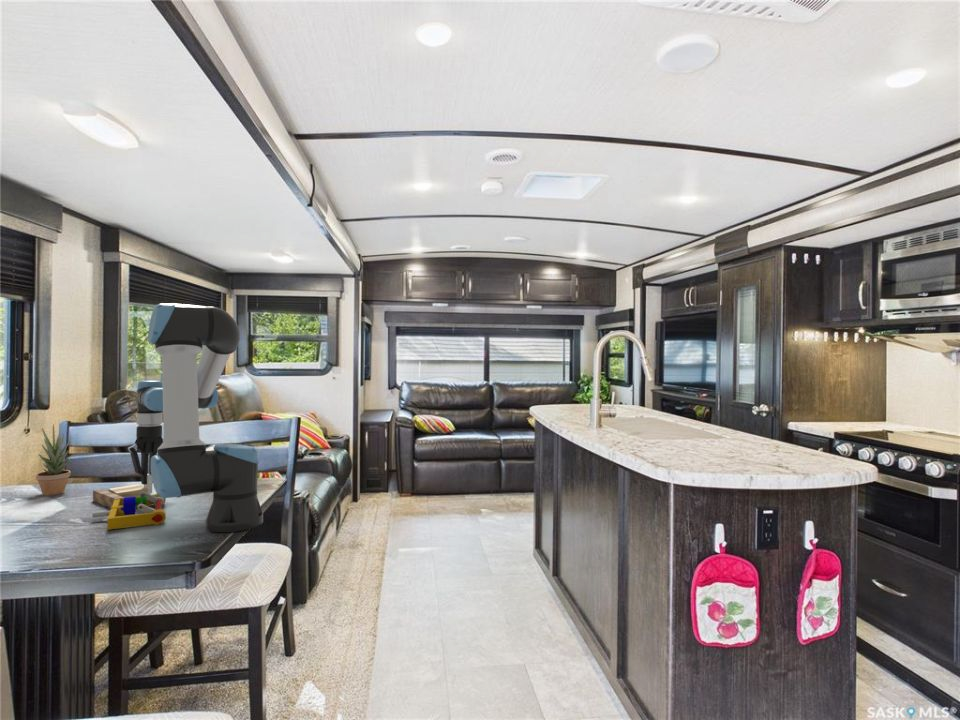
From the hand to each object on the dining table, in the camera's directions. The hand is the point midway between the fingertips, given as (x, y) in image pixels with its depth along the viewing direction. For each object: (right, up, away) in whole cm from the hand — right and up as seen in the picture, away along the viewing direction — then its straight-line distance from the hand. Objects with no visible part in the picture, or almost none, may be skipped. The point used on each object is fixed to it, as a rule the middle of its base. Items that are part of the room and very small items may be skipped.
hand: (148, 493), depth 180 cm
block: (-5, -2, -3) cm, 6 cm away
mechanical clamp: (+8, -2, -21) cm, 23 cm away
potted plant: (-35, -1, +3) cm, 35 cm away
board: (-7, -1, -10) cm, 12 cm away
